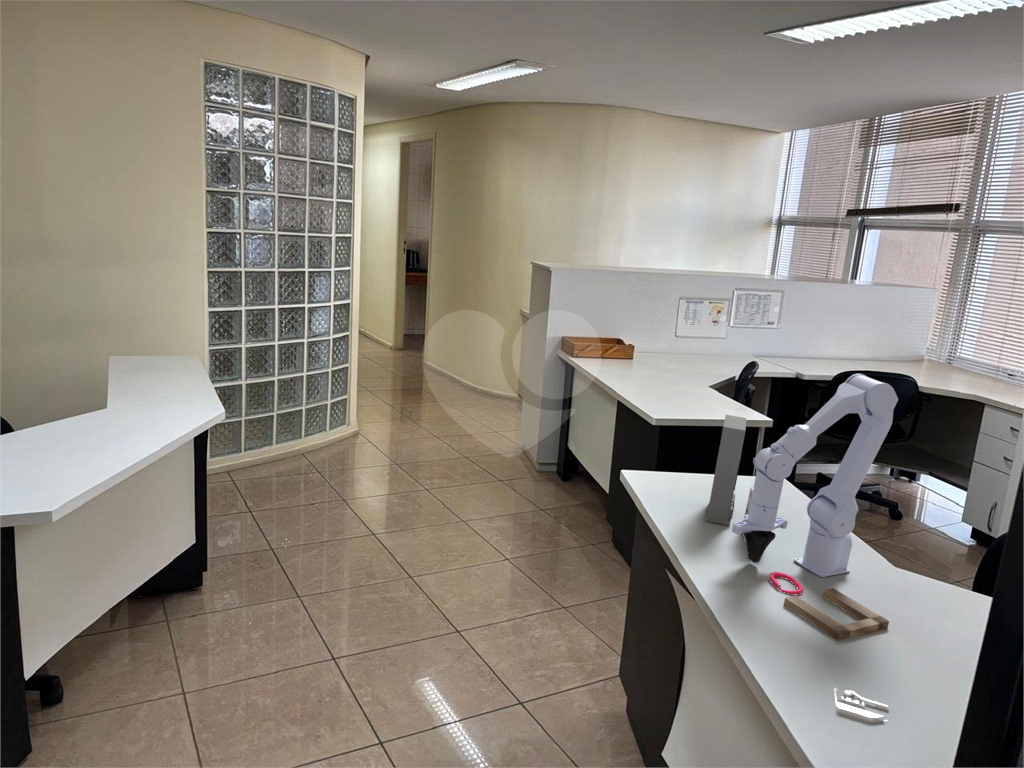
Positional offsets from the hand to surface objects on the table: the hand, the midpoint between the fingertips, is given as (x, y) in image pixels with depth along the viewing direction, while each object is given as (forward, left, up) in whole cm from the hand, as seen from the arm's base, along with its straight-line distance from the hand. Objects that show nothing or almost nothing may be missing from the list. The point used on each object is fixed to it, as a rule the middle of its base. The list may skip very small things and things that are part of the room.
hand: (753, 560), depth 160 cm
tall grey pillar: (-13, -25, -1) cm, 28 cm away
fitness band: (0, +9, -2) cm, 10 cm away
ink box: (-11, -11, -1) cm, 15 cm away
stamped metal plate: (+20, +43, -2) cm, 48 cm away
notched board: (0, +22, -1) cm, 22 cm away
